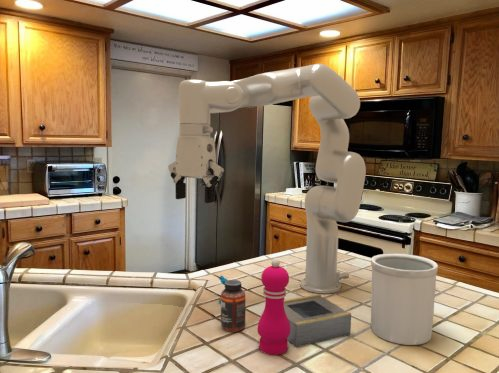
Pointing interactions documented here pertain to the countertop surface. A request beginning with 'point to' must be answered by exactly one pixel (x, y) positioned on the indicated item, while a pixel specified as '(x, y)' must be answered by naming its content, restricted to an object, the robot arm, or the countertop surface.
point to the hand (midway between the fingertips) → (195, 200)
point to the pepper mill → (274, 311)
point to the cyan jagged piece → (223, 283)
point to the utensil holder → (403, 298)
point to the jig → (315, 320)
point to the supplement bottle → (233, 306)
